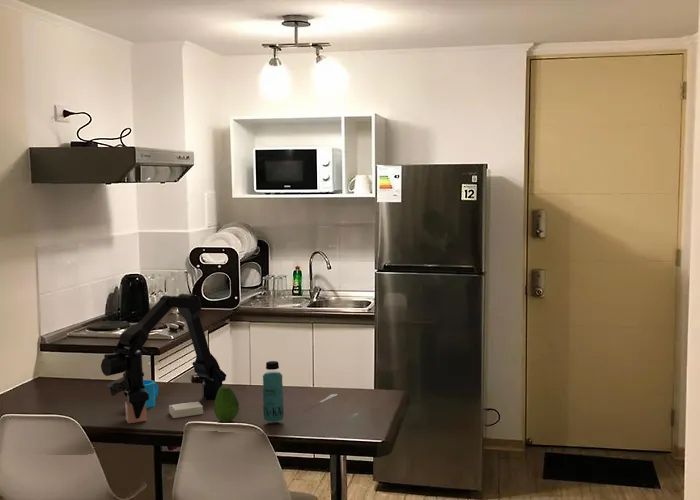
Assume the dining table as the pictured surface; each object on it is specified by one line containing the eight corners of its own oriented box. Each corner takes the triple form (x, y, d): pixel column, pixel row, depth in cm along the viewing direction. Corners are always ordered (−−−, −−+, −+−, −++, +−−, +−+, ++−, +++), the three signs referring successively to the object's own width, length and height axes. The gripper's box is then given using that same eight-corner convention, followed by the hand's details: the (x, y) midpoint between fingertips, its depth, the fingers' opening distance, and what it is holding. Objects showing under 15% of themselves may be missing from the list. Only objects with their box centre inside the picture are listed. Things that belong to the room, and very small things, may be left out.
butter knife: (339, 394, 287) (332, 393, 288) (306, 412, 266) (298, 411, 267) (339, 395, 287) (332, 394, 288) (306, 413, 266) (298, 412, 267)
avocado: (212, 425, 255) (210, 388, 253) (217, 418, 262) (215, 382, 261) (237, 425, 254) (235, 388, 253) (241, 417, 262) (240, 381, 261)
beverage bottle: (263, 420, 258) (261, 359, 256) (284, 419, 259) (282, 358, 257) (263, 427, 252) (261, 364, 250) (284, 425, 252) (282, 363, 250)
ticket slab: (198, 408, 274) (198, 401, 274) (203, 413, 268) (202, 406, 268) (169, 412, 270) (168, 405, 270) (173, 418, 264) (172, 410, 264)
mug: (144, 410, 274) (143, 386, 274) (126, 407, 278) (125, 384, 277) (167, 400, 285) (166, 378, 284) (149, 398, 289) (148, 376, 288)
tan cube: (144, 416, 266) (143, 398, 266) (147, 420, 262) (146, 402, 261) (126, 419, 264) (125, 401, 263) (128, 423, 259) (127, 405, 259)
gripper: (104, 366, 267) (107, 412, 268) (111, 379, 249) (114, 427, 251) (138, 362, 271) (141, 407, 272) (147, 374, 254) (150, 422, 255)
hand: (136, 416), depth 263 cm, fingers closed on tan cube, 5 cm apart
